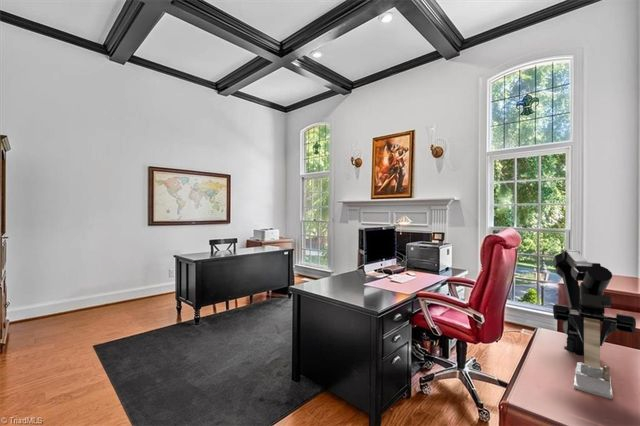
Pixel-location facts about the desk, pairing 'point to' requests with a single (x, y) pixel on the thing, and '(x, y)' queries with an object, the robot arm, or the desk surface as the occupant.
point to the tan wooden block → (592, 342)
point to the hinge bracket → (593, 380)
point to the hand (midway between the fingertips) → (591, 343)
